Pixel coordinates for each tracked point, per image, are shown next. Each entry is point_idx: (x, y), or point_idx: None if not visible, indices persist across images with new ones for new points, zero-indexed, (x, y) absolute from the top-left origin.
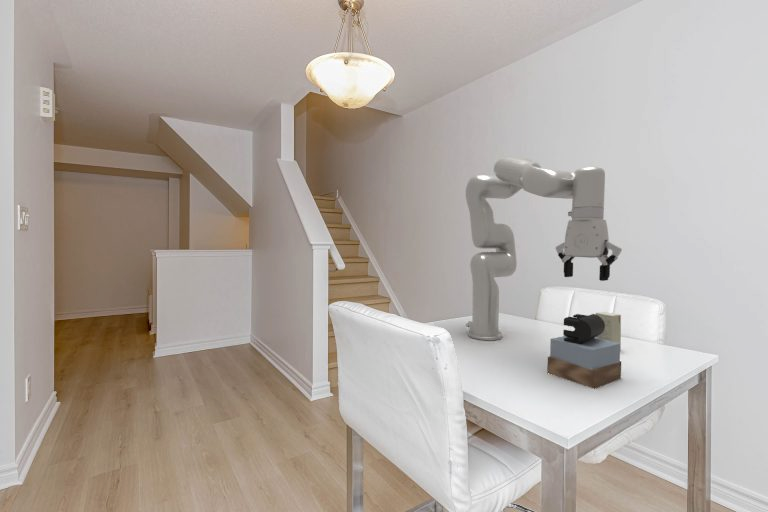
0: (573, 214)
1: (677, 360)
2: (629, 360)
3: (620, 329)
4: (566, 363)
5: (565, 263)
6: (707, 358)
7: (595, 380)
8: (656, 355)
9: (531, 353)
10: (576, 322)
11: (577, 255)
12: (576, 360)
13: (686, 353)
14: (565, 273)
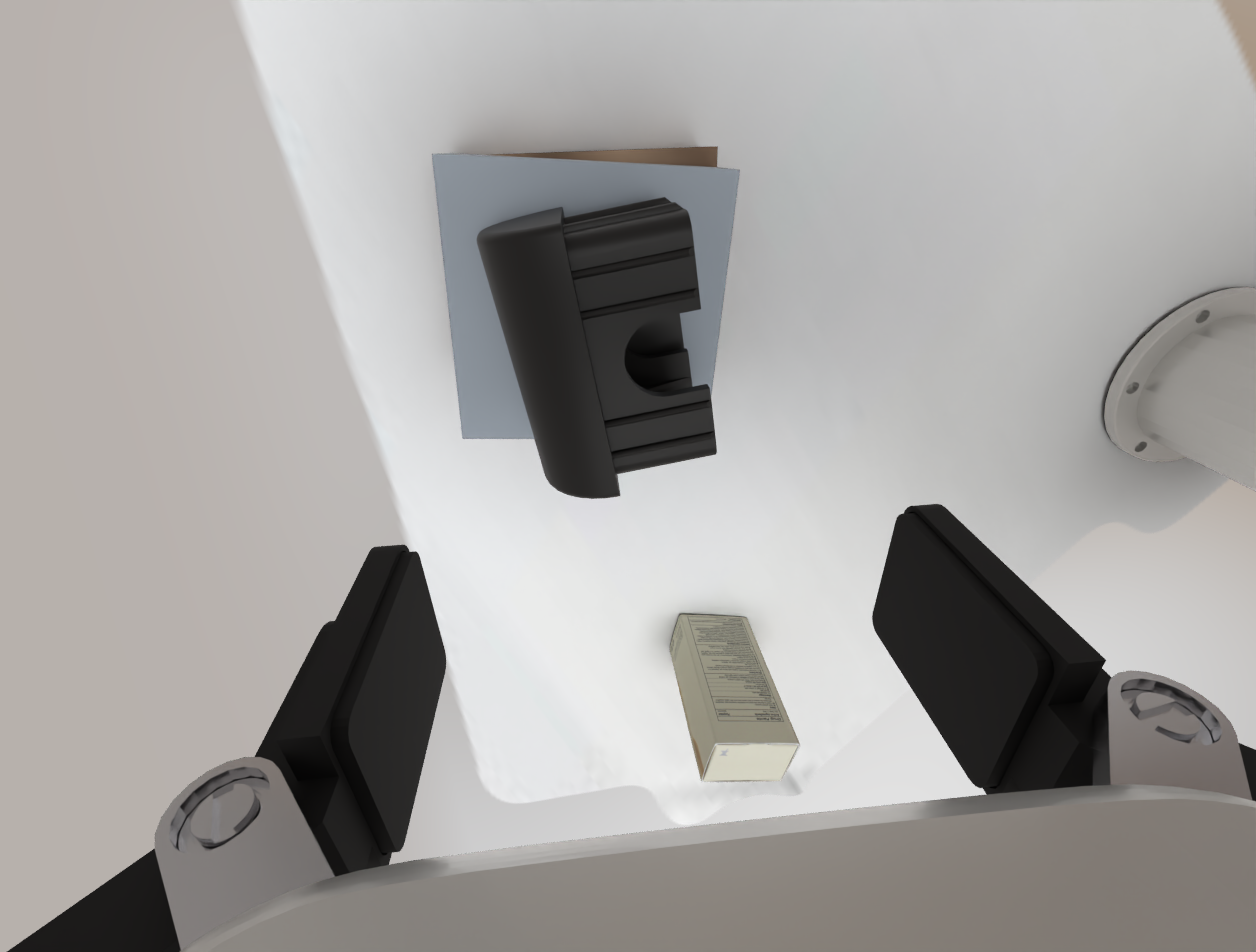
0: None
1: (518, 704)
2: (598, 593)
3: (686, 719)
4: (601, 151)
5: (1076, 652)
6: (487, 776)
7: None
8: (581, 700)
9: (894, 346)
10: (587, 232)
11: (882, 830)
12: (545, 158)
13: (545, 774)
14: (947, 530)
